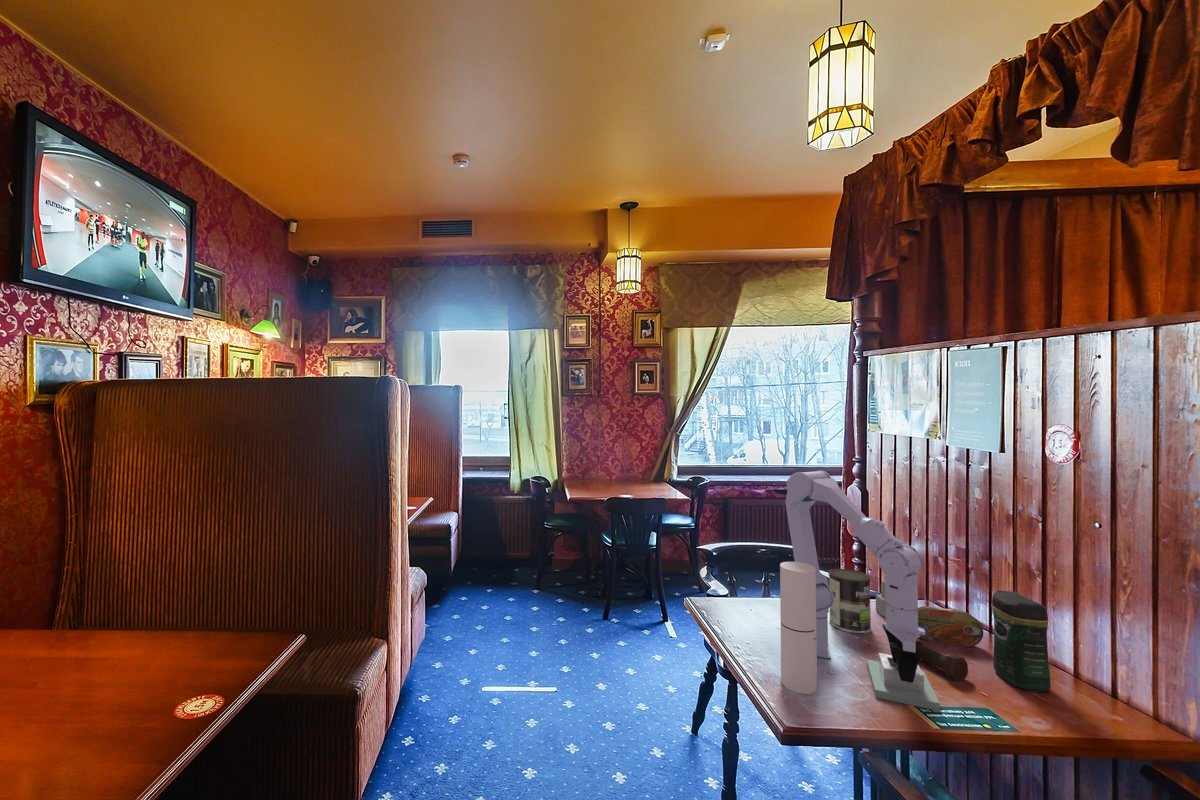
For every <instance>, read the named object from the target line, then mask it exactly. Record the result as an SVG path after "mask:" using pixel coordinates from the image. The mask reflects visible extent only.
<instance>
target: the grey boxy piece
mask: <svg viewBox="0 0 1200 800" xmlns="http://www.w3.org/2000/svg"><path fill="white" fill-rule="evenodd" d="M878 662H879V671H880V674H881V677H882V680H883V683H884V685H885V686H890V687H895V688H899V689H904V690H909V691H914V692H919V693H924V675H923V673H922V671H921V670H922V669H921V668H920V665H919V664H918V666H917V669H916V674H915V678H914V681H913V683H911V682H906V681H901V679H900V676H899V672H898V668H896V666H897V663H896V662H894V661H893V658H892V655H891V654H886V653H880V652H878Z"/></svg>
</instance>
